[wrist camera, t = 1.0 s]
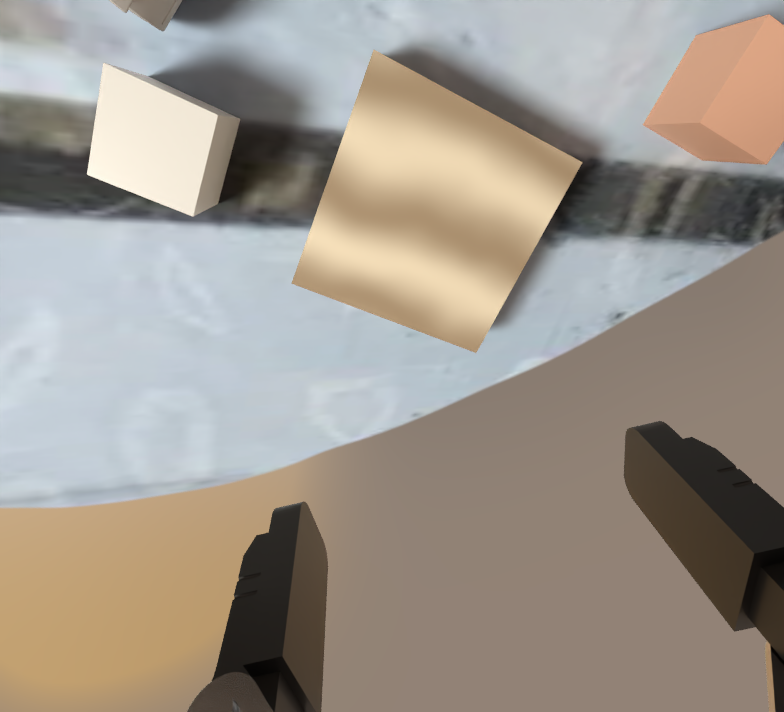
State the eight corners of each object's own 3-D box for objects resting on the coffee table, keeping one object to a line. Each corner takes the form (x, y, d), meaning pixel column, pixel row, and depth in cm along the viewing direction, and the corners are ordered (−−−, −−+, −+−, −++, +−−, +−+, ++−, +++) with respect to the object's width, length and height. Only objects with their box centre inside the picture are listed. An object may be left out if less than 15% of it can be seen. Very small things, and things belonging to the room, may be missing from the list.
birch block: (370, 61, 27) (373, 49, 24) (555, 159, 31) (582, 162, 27) (297, 267, 33) (291, 283, 29) (463, 331, 36) (476, 352, 33)
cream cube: (148, 76, 26) (103, 62, 21) (240, 119, 28) (218, 115, 23) (131, 168, 28) (87, 174, 24) (218, 203, 30) (193, 216, 25)
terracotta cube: (695, 35, 28) (769, 14, 23) (755, 77, 29) (837, 65, 25) (642, 125, 30) (699, 122, 25) (701, 160, 32) (766, 164, 27)
